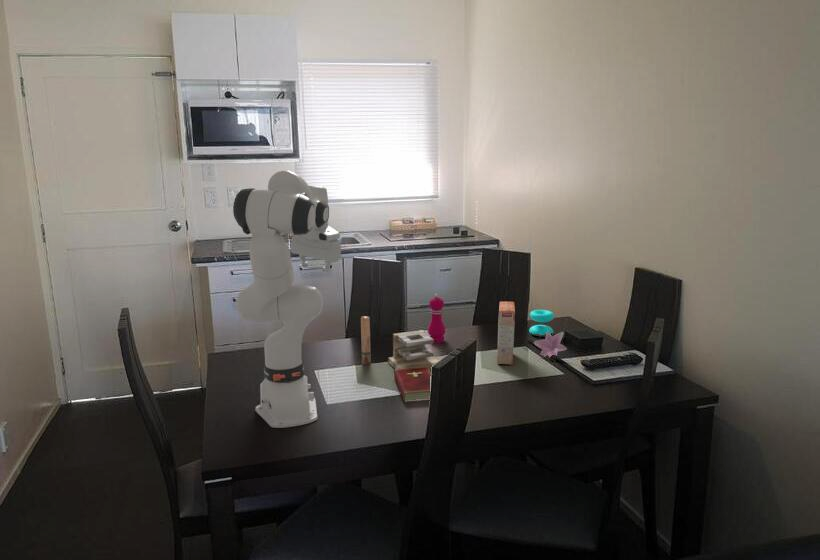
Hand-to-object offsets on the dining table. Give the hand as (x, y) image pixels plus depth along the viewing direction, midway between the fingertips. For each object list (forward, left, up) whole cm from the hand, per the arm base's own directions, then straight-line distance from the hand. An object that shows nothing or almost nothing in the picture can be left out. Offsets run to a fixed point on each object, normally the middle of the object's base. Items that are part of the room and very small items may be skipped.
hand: (315, 269), depth 224 cm
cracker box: (-21, -67, -37) cm, 79 cm away
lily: (-26, -83, -37) cm, 95 cm away
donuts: (-1, -96, -37) cm, 102 cm away
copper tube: (-5, -17, -37) cm, 40 cm away
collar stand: (-14, -33, -37) cm, 51 cm away
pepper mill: (+9, -52, -37) cm, 64 cm away
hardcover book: (-34, -25, -37) cm, 56 cm away
